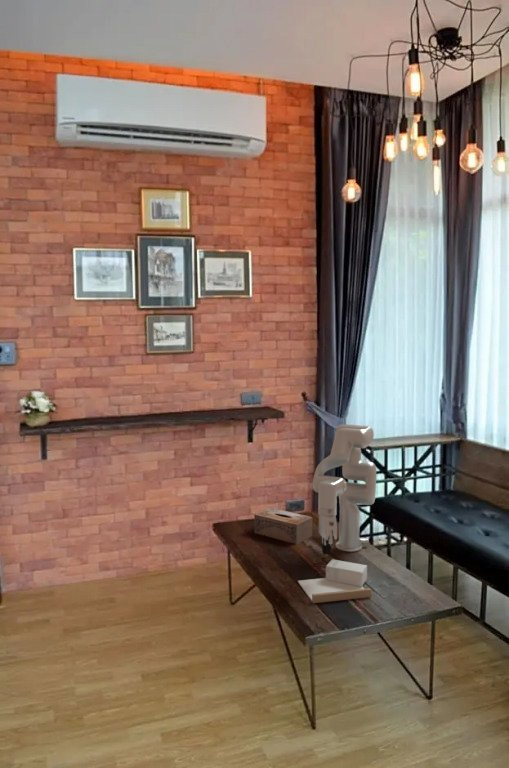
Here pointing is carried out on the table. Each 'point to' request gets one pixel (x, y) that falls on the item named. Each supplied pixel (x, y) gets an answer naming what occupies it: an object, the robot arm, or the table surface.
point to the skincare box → (346, 572)
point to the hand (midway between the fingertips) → (326, 553)
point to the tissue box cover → (283, 525)
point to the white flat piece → (332, 590)
